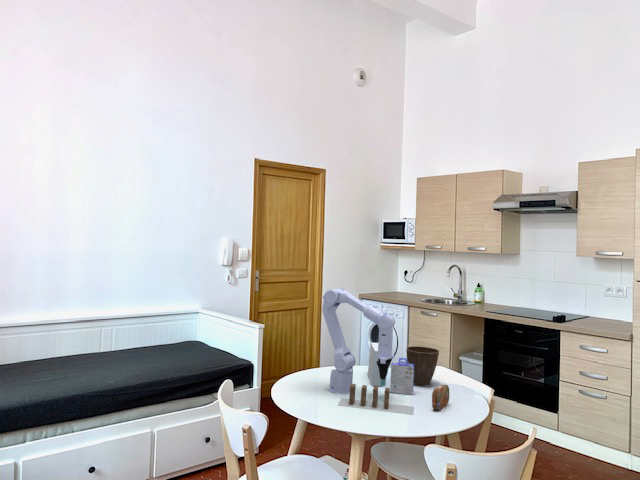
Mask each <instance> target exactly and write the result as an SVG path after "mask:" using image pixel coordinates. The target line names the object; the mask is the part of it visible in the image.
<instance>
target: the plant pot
mask: <svg viewBox="0 0 640 480" xmlns="http://www.w3.org/2000/svg"><path fill="white" fill-rule="evenodd" d="M439 354H440V350H438V349H437V348H433V347H428V346H416V345H415V346H414V345H413V346H407V347H406V358H407V364H414V384H413V385H416V386H418V387H428V386H430V385H431V382H432V380H433V378H434V374H435V371H436V368H437V364H438V361H439V360H438V359H439Z"/></svg>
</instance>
